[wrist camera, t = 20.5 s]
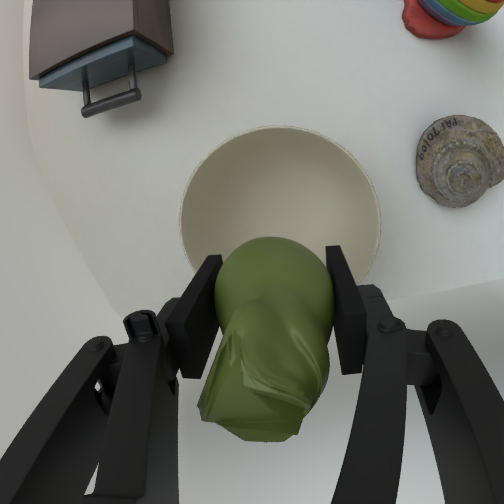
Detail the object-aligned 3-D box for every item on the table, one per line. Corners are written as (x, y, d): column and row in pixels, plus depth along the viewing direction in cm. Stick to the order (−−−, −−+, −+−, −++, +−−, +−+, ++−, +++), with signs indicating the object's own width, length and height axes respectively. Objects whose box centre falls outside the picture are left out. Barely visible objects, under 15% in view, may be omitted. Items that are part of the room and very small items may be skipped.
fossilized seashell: (416, 106, 26) (467, 119, 20) (472, 114, 28) (516, 128, 22) (409, 199, 31) (451, 227, 25) (463, 192, 33) (501, 214, 27)
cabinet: (173, 53, 28) (134, 29, 19) (81, 85, 30) (29, 79, 21) (166, -41, 23) (133, -77, 14) (80, -5, 25) (36, -25, 16)
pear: (300, 326, 18) (301, 479, 8) (214, 297, 18) (152, 439, 8) (341, 242, 16) (396, 380, 6) (244, 206, 16) (179, 314, 6)
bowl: (226, 280, 37) (206, 328, 28) (194, 146, 32) (158, 151, 22) (361, 261, 34) (383, 305, 25) (343, 119, 29) (367, 112, 20)
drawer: (170, 97, 29) (137, 89, 22) (84, 123, 31) (42, 125, 23) (159, -30, 23) (131, -58, 16) (79, 4, 25) (43, -12, 17)
